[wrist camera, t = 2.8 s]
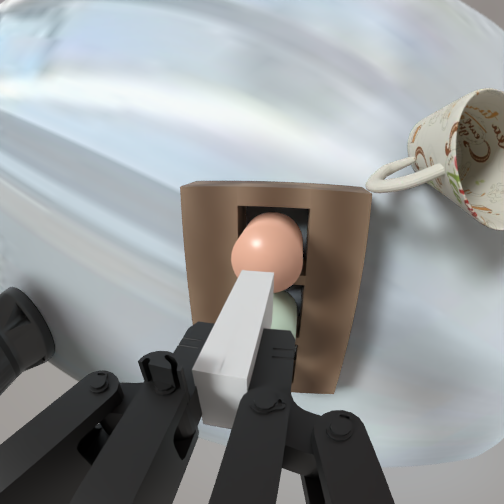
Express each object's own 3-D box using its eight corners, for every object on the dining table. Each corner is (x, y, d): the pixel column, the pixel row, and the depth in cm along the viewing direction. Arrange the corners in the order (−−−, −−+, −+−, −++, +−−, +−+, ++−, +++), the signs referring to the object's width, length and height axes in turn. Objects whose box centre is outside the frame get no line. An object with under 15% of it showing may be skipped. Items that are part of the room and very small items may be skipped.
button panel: (210, 360, 31) (201, 380, 27) (196, 181, 23) (180, 186, 20) (332, 371, 28) (333, 393, 25) (361, 187, 21) (372, 193, 18)
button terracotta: (244, 266, 22) (232, 290, 18) (243, 210, 20) (230, 225, 17) (300, 269, 21) (300, 295, 17) (304, 213, 20) (305, 228, 16)
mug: (480, 181, 19) (550, 205, 9) (372, 229, 22) (412, 281, 13) (451, 96, 17) (520, 80, 7) (334, 138, 20) (360, 128, 11)
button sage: (244, 328, 24) (235, 358, 20) (244, 284, 22) (233, 310, 19) (295, 332, 23) (292, 363, 20) (299, 288, 22) (298, 316, 18)
